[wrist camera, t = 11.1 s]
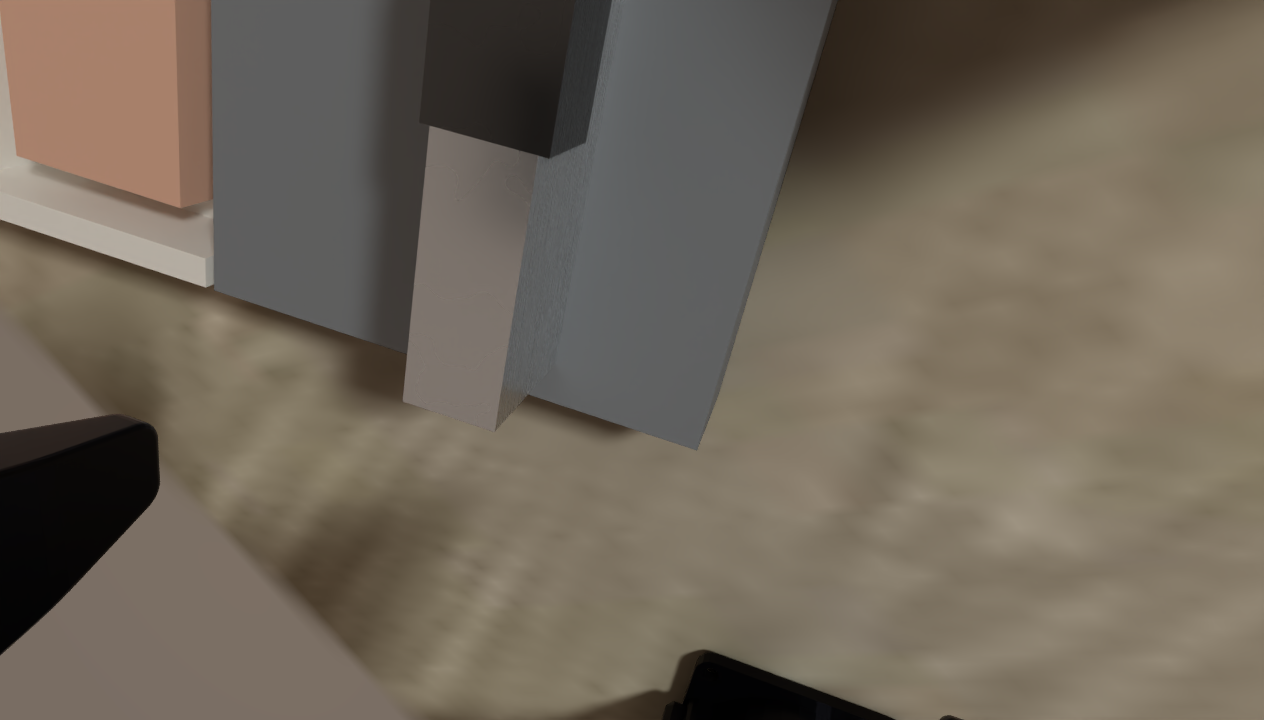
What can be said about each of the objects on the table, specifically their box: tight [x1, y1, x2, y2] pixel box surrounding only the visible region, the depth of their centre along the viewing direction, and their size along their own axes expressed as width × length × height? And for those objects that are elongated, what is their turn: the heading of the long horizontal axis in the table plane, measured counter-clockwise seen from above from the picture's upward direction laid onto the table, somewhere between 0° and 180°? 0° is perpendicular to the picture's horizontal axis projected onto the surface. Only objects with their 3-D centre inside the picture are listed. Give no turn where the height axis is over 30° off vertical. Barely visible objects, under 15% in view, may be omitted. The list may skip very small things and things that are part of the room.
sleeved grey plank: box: [403, 0, 624, 432], centre depth 14 cm, size 2×15×4 cm, turn 168°
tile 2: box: [0, 0, 213, 208], centre depth 21 cm, size 5×5×2 cm
